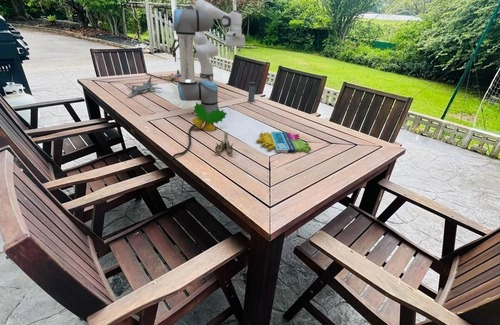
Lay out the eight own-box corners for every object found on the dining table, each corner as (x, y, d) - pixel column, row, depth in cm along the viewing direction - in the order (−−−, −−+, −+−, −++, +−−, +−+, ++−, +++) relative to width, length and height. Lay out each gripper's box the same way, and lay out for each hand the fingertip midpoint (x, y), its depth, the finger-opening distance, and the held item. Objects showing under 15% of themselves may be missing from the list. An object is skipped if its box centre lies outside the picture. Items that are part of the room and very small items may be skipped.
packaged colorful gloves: (313, 150, 142) (258, 149, 139) (312, 153, 143) (258, 152, 140) (301, 132, 164) (254, 130, 161) (301, 134, 165) (254, 133, 162)
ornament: (218, 133, 171) (224, 110, 169) (221, 134, 163) (227, 111, 161) (186, 125, 162) (192, 101, 160) (189, 126, 155) (195, 101, 153)
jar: (248, 102, 221) (249, 83, 213) (248, 100, 225) (249, 82, 218) (254, 102, 221) (255, 83, 213) (254, 100, 226) (255, 82, 218)
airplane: (121, 87, 235) (119, 76, 230) (157, 85, 248) (156, 74, 243) (125, 100, 206) (123, 87, 201) (166, 97, 219) (165, 85, 214)
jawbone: (234, 135, 144) (233, 125, 135) (233, 160, 138) (232, 151, 129) (217, 135, 144) (216, 125, 135) (216, 160, 138) (214, 150, 129)
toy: (192, 71, 287) (179, 75, 261) (192, 77, 291) (180, 82, 265) (169, 68, 292) (154, 72, 266) (169, 75, 296) (155, 79, 270)
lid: (248, 85, 214) (248, 83, 213) (248, 83, 219) (248, 81, 218) (255, 85, 214) (255, 83, 213) (255, 84, 219) (255, 81, 218)
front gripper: (198, 33, 207) (199, 61, 218) (165, 31, 201) (168, 60, 211) (199, 33, 201) (200, 62, 211) (165, 32, 194) (168, 62, 205)
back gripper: (241, 33, 222) (240, 50, 228) (224, 33, 207) (224, 51, 214) (247, 33, 218) (246, 51, 225) (230, 33, 204) (230, 52, 211)
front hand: (184, 61), depth 211 cm, fingers open, 13 cm apart
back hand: (235, 51), depth 219 cm, fingers open, 8 cm apart
